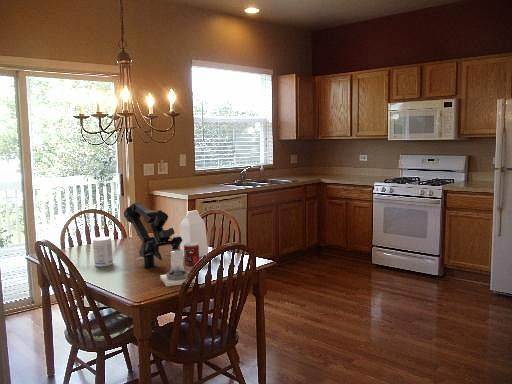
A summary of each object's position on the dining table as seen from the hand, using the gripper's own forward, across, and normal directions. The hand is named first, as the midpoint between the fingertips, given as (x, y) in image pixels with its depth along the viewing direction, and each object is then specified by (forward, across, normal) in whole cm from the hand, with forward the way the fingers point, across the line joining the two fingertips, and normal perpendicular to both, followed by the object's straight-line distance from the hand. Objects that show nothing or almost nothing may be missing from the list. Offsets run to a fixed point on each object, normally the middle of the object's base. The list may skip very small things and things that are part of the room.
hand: (169, 258), depth 231 cm
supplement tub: (-24, -17, +38) cm, 48 cm away
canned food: (-2, +20, +16) cm, 26 cm away
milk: (-13, +30, +27) cm, 42 cm away
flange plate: (+12, 0, +1) cm, 12 cm away
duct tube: (+11, 0, 0) cm, 11 cm away
